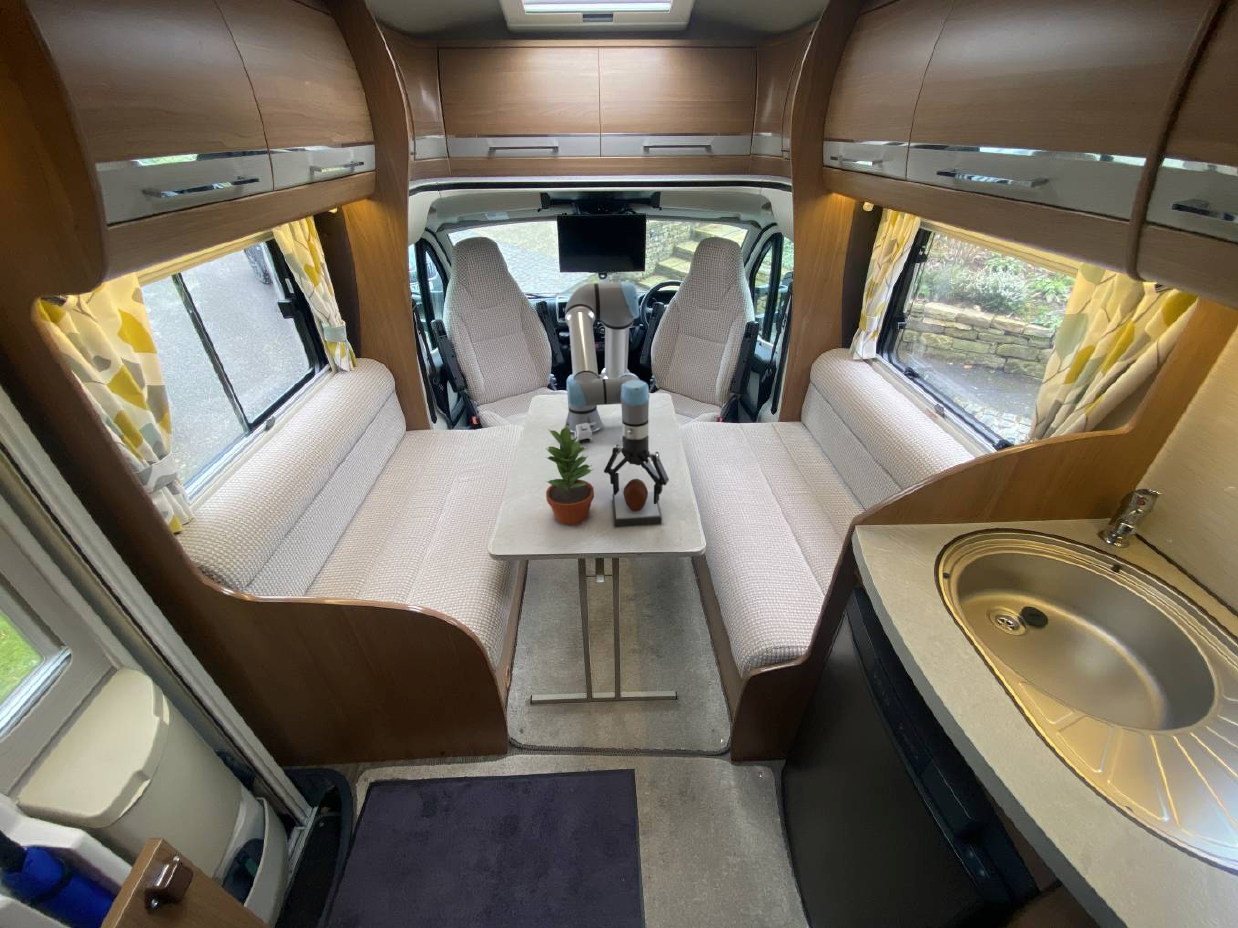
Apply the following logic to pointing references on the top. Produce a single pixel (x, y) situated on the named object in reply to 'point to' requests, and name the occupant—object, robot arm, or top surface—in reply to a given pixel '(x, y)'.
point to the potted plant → (569, 481)
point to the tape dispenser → (583, 433)
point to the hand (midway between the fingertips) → (636, 497)
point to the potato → (635, 494)
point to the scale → (632, 518)
